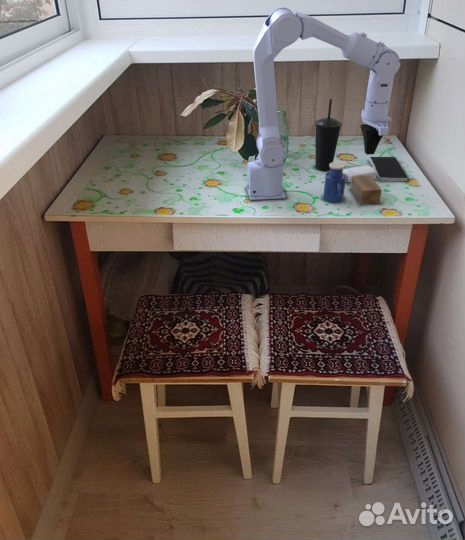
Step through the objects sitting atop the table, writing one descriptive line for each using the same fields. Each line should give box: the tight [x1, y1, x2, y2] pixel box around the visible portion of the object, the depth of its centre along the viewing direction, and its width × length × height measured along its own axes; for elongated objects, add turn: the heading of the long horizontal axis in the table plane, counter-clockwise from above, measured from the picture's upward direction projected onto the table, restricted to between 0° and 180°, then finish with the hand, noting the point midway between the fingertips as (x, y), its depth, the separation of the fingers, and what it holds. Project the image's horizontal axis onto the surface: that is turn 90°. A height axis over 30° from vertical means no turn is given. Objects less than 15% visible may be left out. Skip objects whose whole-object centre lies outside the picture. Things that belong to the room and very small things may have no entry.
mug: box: [322, 161, 346, 204], centre depth 129 cm, size 9×7×10 cm
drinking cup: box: [314, 98, 343, 172], centre depth 144 cm, size 8×8×20 cm
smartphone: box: [368, 156, 409, 182], centre depth 147 cm, size 8×1×15 cm
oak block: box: [349, 176, 382, 206], centre depth 132 cm, size 5×9×4 cm, turn 6°
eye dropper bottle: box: [343, 164, 377, 184], centre depth 141 cm, size 4×6×12 cm
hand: (369, 153), depth 131 cm, fingers closed
